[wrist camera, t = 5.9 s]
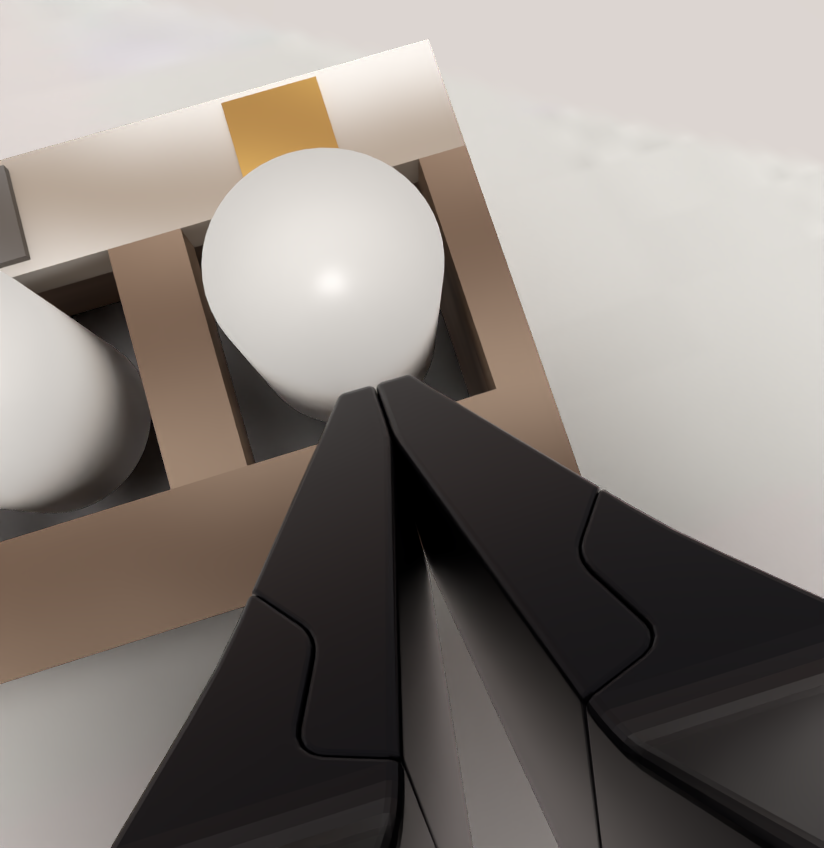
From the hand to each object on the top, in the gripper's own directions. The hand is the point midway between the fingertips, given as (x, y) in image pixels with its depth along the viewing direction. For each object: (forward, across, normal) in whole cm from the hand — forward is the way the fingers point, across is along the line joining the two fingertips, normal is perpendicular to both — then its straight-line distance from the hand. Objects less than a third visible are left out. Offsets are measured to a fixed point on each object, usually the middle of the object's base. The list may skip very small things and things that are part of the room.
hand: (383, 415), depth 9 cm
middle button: (+8, +7, +3) cm, 11 cm away
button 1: (+8, 0, +3) cm, 9 cm away
